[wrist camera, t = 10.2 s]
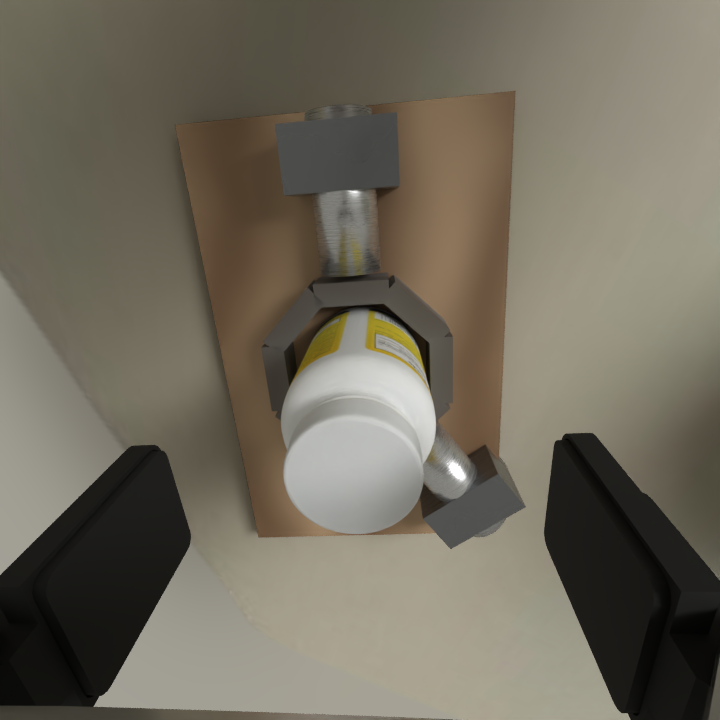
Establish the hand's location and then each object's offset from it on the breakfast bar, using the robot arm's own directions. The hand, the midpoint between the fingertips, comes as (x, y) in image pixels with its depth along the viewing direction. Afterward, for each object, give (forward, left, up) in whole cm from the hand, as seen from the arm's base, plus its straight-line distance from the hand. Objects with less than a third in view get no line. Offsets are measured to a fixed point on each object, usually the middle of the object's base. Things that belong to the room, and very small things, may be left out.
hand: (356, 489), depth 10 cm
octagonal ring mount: (+1, +1, -12) cm, 12 cm away
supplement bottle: (0, +1, -11) cm, 11 cm away
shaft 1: (+1, -7, -12) cm, 14 cm away
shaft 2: (-4, +7, -12) cm, 15 cm away
